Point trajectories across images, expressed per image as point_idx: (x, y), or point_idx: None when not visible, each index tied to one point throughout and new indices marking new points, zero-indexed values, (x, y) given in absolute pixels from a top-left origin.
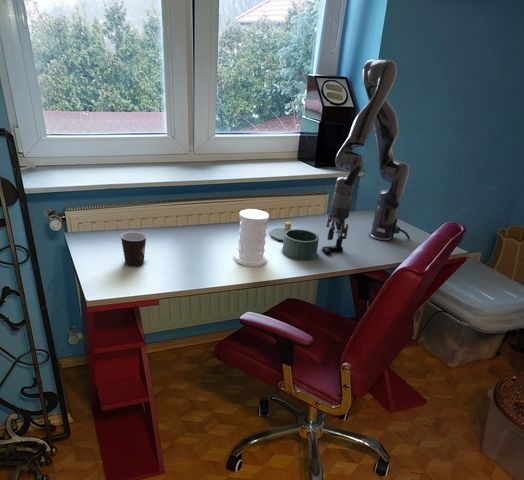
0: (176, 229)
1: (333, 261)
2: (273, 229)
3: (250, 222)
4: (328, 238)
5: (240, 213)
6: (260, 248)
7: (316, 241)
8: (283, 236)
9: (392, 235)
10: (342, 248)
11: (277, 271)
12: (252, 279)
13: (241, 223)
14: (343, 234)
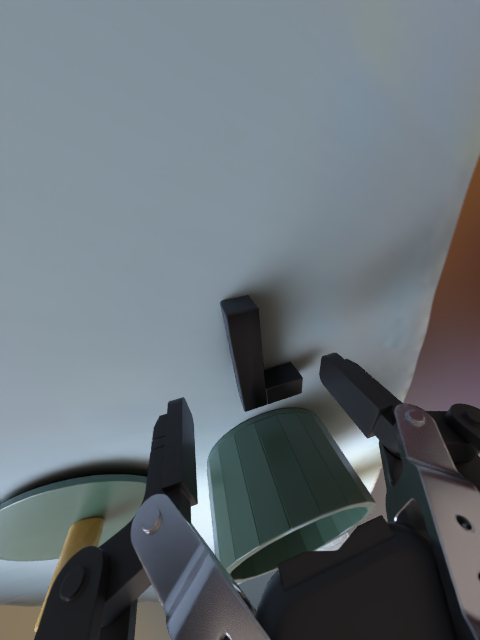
0: (154, 593)
1: (353, 353)
2: (50, 558)
3: None
4: (193, 428)
5: None
6: (345, 534)
7: (364, 493)
8: (130, 519)
9: None
10: (256, 308)
11: (359, 456)
12: (372, 471)
13: None
14: (447, 455)
